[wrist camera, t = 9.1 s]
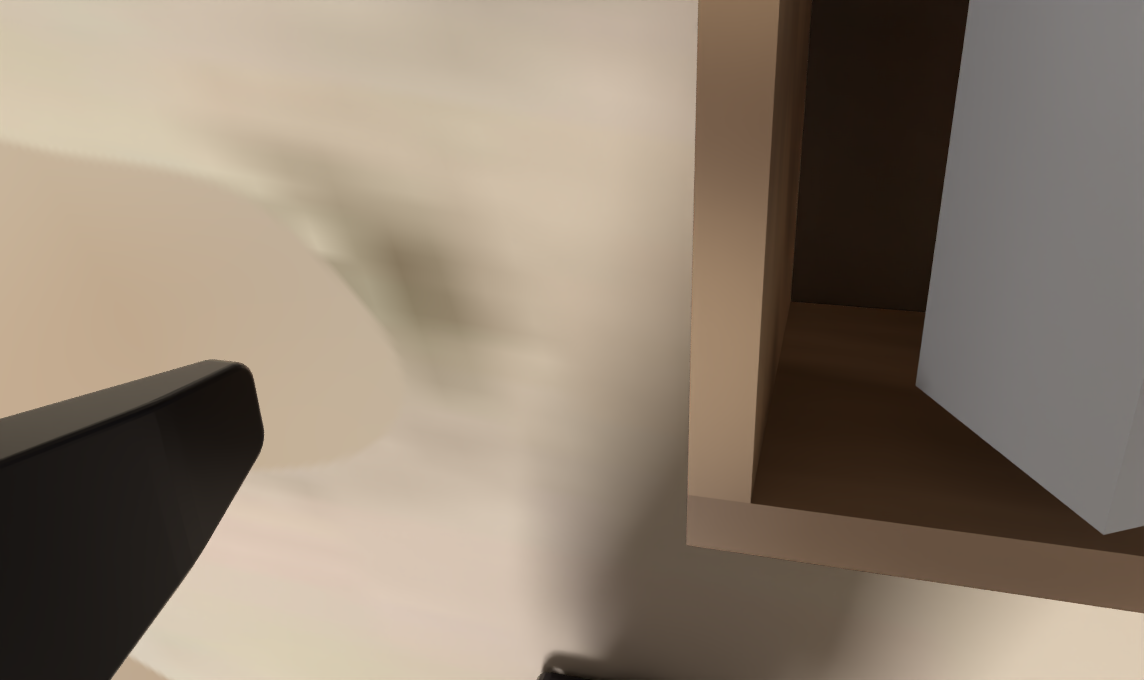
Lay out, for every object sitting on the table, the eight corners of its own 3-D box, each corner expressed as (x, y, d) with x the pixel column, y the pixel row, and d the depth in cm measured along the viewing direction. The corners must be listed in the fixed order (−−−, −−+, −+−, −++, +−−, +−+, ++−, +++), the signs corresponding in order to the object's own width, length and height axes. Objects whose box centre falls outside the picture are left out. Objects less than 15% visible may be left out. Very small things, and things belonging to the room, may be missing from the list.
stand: (1227, 380, 20) (1408, 652, 13) (744, 336, 23) (686, 545, 16) (1484, -471, 14) (2081, -796, 7) (781, -395, 16) (711, -577, 10)
